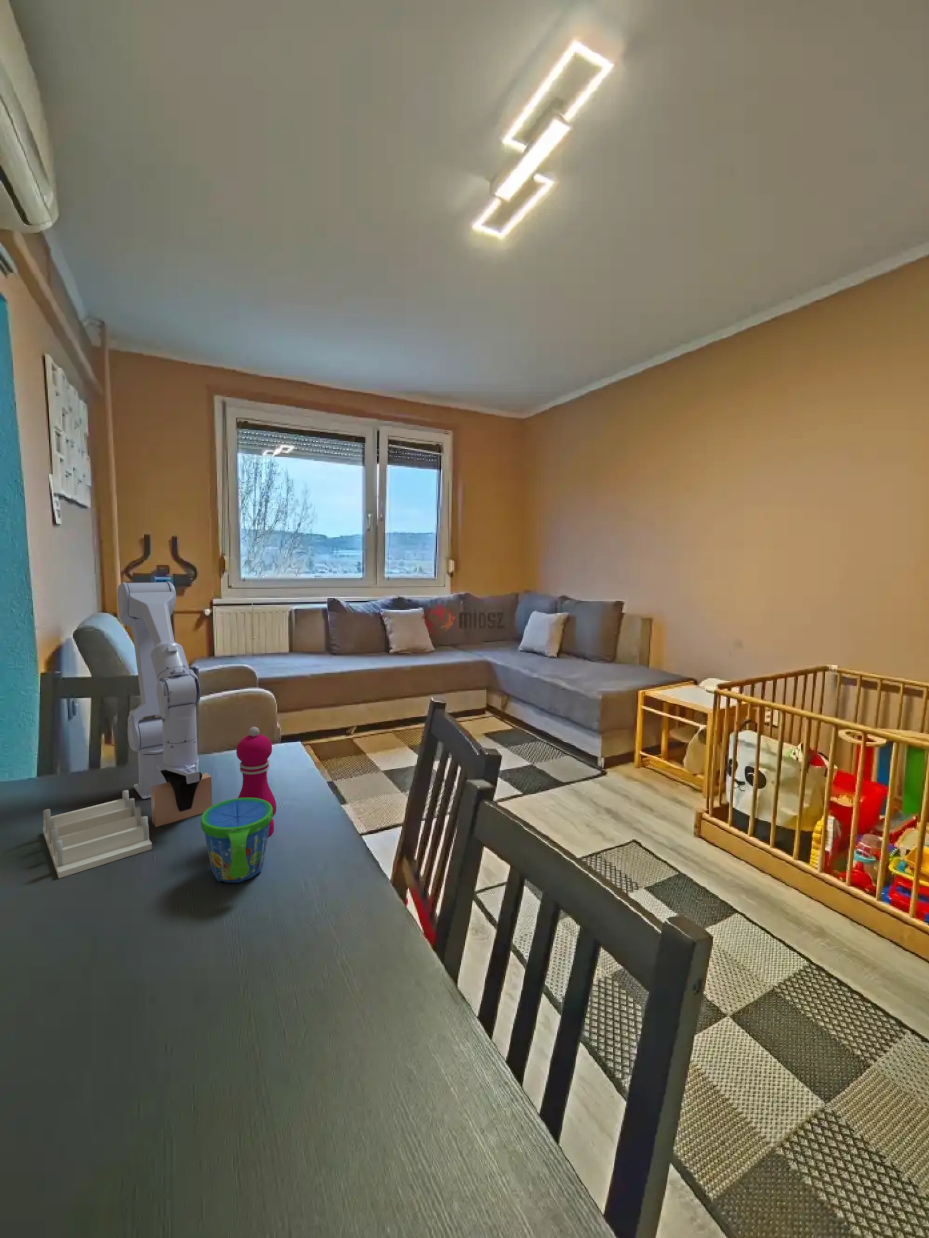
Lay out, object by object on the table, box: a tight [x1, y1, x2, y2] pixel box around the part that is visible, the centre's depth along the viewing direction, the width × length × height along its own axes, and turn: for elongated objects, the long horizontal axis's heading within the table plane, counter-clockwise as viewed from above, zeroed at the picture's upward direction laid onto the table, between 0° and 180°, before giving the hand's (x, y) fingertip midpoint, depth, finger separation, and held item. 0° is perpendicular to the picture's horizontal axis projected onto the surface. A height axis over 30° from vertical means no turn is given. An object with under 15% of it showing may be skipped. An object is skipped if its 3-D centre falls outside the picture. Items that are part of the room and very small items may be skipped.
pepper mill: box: [235, 726, 277, 838], centre depth 99 cm, size 7×7×20 cm
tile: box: [150, 772, 213, 828], centre depth 105 cm, size 10×2×7 cm, turn 134°
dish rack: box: [42, 789, 153, 879], centre depth 95 cm, size 13×18×5 cm
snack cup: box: [200, 797, 274, 884], centre depth 87 cm, size 16×10×10 cm
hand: (182, 806), depth 105 cm, fingers closed on tile, 2 cm apart
